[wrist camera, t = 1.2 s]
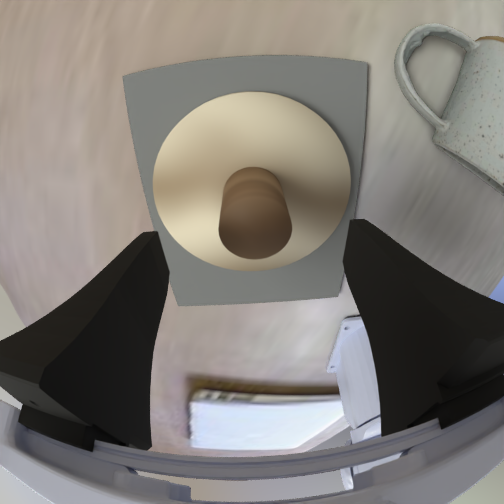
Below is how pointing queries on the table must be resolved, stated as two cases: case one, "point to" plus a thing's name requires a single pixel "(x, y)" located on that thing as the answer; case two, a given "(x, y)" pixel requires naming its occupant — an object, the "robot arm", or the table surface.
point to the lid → (251, 181)
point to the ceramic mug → (465, 102)
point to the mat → (239, 80)
